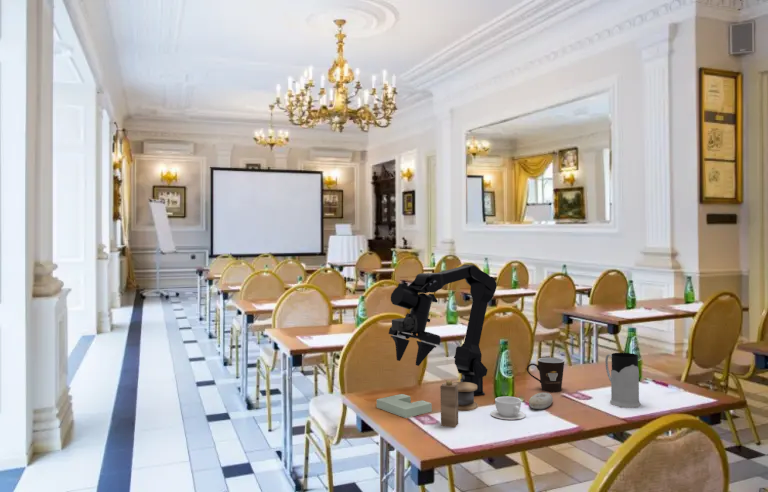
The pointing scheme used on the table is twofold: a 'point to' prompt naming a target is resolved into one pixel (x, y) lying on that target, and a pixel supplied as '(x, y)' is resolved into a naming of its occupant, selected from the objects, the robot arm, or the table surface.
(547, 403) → the decorative stone
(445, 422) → the tab block
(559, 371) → the coffee mug
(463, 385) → the spool
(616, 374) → the glass holder
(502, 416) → the teacup
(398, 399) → the notched board
